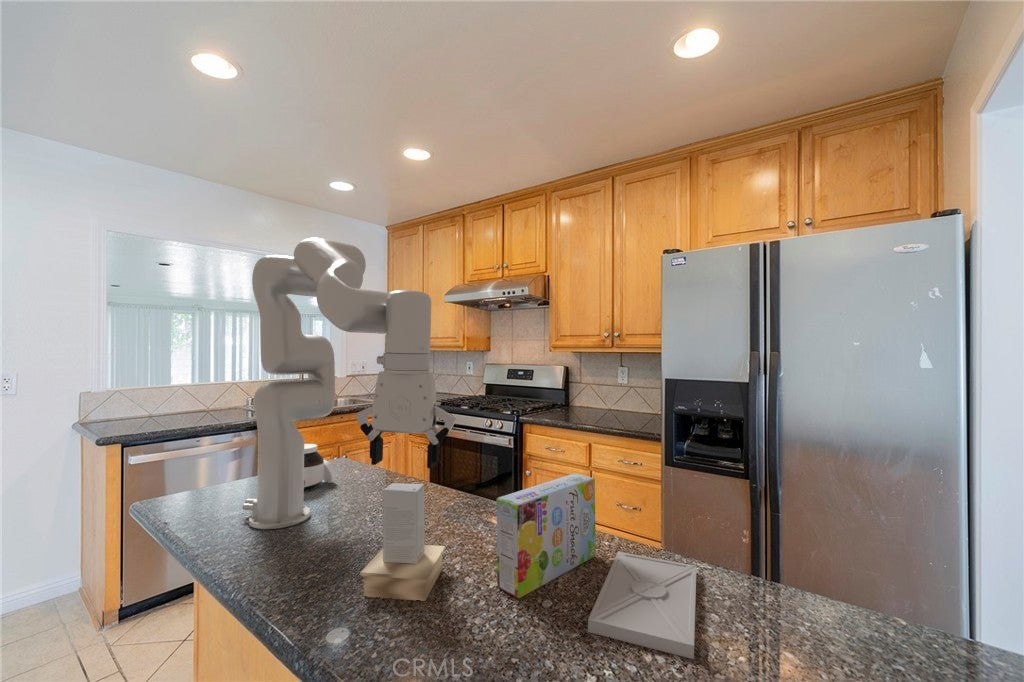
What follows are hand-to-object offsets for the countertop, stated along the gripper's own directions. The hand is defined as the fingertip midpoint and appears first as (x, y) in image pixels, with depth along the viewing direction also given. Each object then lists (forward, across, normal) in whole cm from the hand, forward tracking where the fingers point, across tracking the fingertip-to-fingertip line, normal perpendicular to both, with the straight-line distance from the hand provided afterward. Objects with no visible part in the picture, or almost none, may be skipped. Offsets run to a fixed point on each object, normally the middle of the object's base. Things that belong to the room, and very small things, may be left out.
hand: (404, 464), depth 76 cm
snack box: (+20, +25, +6) cm, 32 cm away
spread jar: (+22, -44, +46) cm, 68 cm away
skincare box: (+16, +1, 0) cm, 16 cm away
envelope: (+19, +41, 0) cm, 45 cm away
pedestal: (+20, +1, -1) cm, 20 cm away
